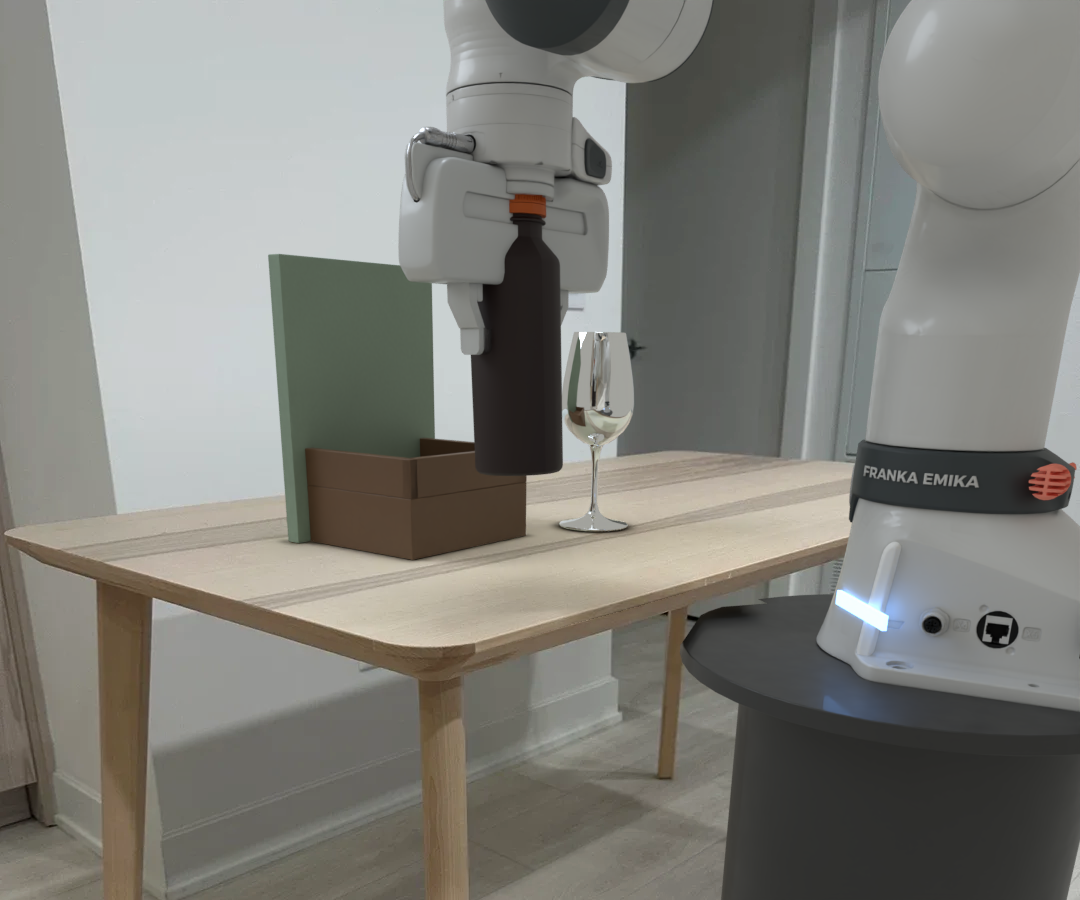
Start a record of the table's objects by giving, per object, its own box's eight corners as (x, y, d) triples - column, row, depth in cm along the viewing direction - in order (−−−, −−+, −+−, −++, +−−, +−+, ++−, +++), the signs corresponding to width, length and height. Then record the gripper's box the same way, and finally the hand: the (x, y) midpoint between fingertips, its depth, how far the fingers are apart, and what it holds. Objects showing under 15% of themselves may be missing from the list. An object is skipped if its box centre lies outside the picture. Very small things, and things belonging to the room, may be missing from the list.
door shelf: (534, 533, 107) (538, 264, 98) (401, 562, 92) (390, 247, 83) (426, 517, 116) (420, 268, 107) (288, 541, 101) (267, 254, 92)
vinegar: (465, 471, 81) (453, 191, 74) (546, 467, 83) (540, 194, 76) (489, 478, 74) (478, 173, 68) (575, 473, 77) (572, 177, 70)
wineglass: (635, 523, 114) (644, 333, 107) (619, 534, 107) (628, 332, 100) (569, 518, 116) (573, 332, 109) (549, 529, 109) (552, 331, 102)
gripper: (443, 114, 62) (450, 354, 66) (625, 161, 77) (620, 354, 82) (370, 127, 65) (382, 354, 70) (558, 170, 81) (557, 354, 85)
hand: (511, 354), depth 76 cm, fingers closed on vinegar, 7 cm apart
